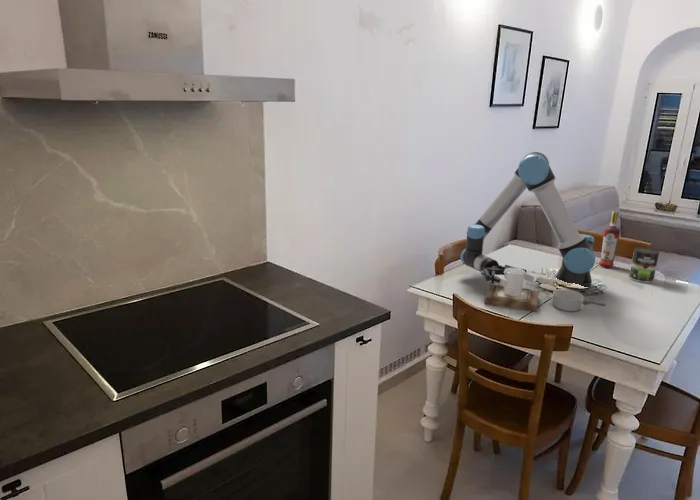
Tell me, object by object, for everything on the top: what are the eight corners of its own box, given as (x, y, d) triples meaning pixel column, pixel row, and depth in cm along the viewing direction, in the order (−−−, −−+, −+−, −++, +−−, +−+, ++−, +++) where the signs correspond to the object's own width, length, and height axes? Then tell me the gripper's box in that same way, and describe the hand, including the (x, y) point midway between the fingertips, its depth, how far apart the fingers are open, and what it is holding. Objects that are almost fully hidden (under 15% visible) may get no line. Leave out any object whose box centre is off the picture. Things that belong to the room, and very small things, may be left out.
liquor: (597, 266, 257) (606, 212, 249) (598, 263, 263) (607, 209, 254) (613, 269, 253) (623, 214, 245) (614, 265, 259) (624, 211, 251)
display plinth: (538, 297, 216) (539, 289, 215) (536, 311, 201) (537, 302, 200) (489, 290, 223) (490, 282, 222) (484, 303, 208) (485, 295, 207)
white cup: (524, 297, 207) (527, 274, 204) (505, 296, 207) (507, 273, 205) (519, 290, 215) (521, 267, 212) (500, 289, 215) (502, 267, 212)
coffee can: (655, 284, 234) (661, 254, 230) (630, 281, 238) (635, 252, 234) (651, 277, 243) (657, 248, 239) (627, 274, 247) (632, 246, 243)
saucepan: (597, 322, 193) (599, 308, 192) (546, 306, 207) (548, 294, 205) (608, 314, 201) (610, 300, 199) (558, 299, 214) (560, 287, 213)
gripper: (508, 270, 231) (542, 286, 212) (462, 277, 221) (493, 294, 203) (510, 254, 229) (544, 269, 210) (463, 260, 219) (495, 276, 201)
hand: (519, 281), depth 206 cm, fingers open, 13 cm apart
